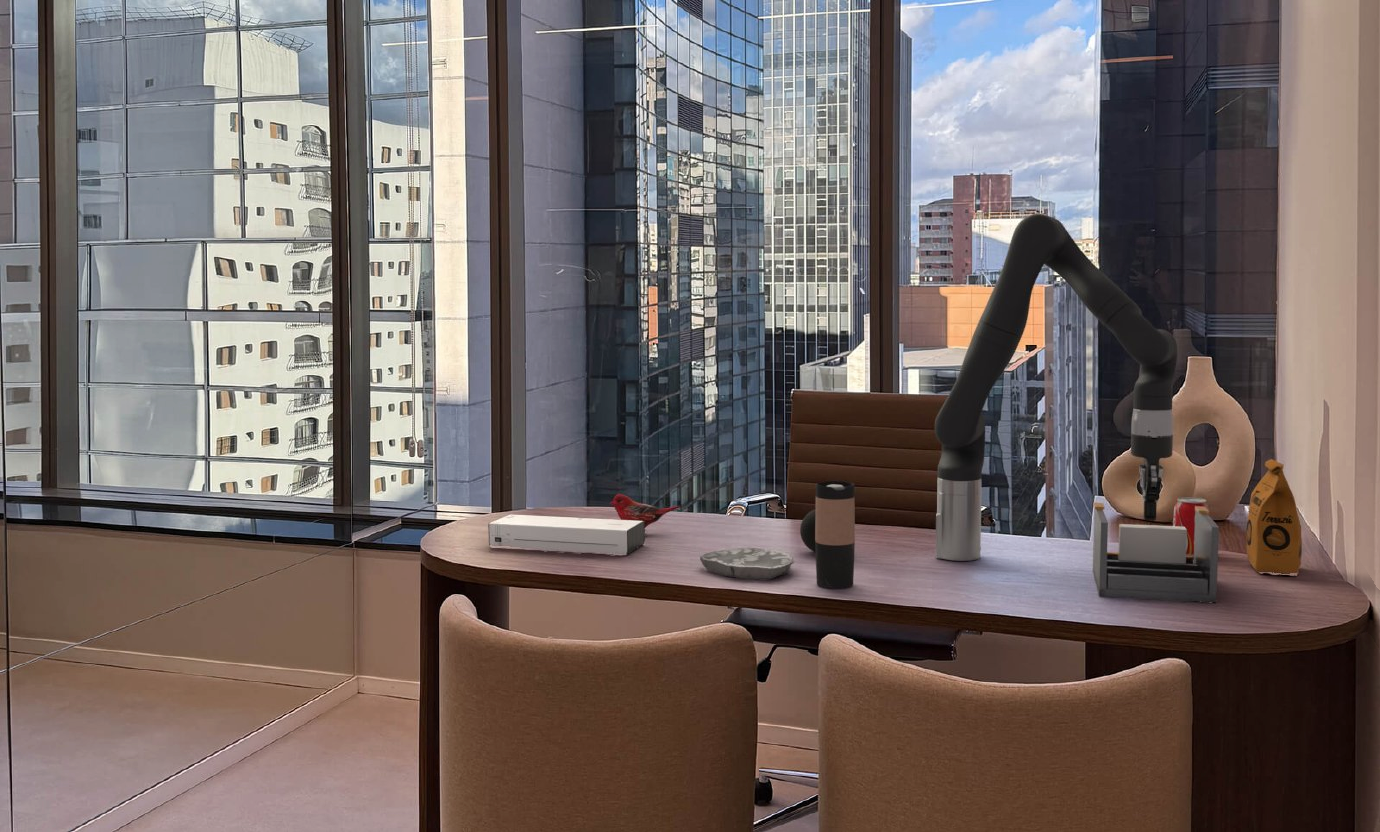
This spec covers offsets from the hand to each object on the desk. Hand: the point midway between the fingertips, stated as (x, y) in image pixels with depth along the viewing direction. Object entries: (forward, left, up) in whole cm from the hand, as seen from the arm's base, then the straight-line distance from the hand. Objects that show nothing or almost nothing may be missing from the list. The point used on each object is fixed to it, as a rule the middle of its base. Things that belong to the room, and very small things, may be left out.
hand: (1149, 519), depth 220 cm
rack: (0, -6, -12) cm, 13 cm away
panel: (+1, 0, -10) cm, 10 cm away
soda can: (+11, +25, -12) cm, 30 cm away
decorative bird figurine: (-111, +19, -12) cm, 113 cm away
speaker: (-66, +8, -12) cm, 68 cm away
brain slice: (-78, -11, -12) cm, 80 cm away
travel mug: (-59, -19, -12) cm, 63 cm away
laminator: (-124, 0, -13) cm, 125 cm away
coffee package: (+25, +14, -12) cm, 31 cm away
